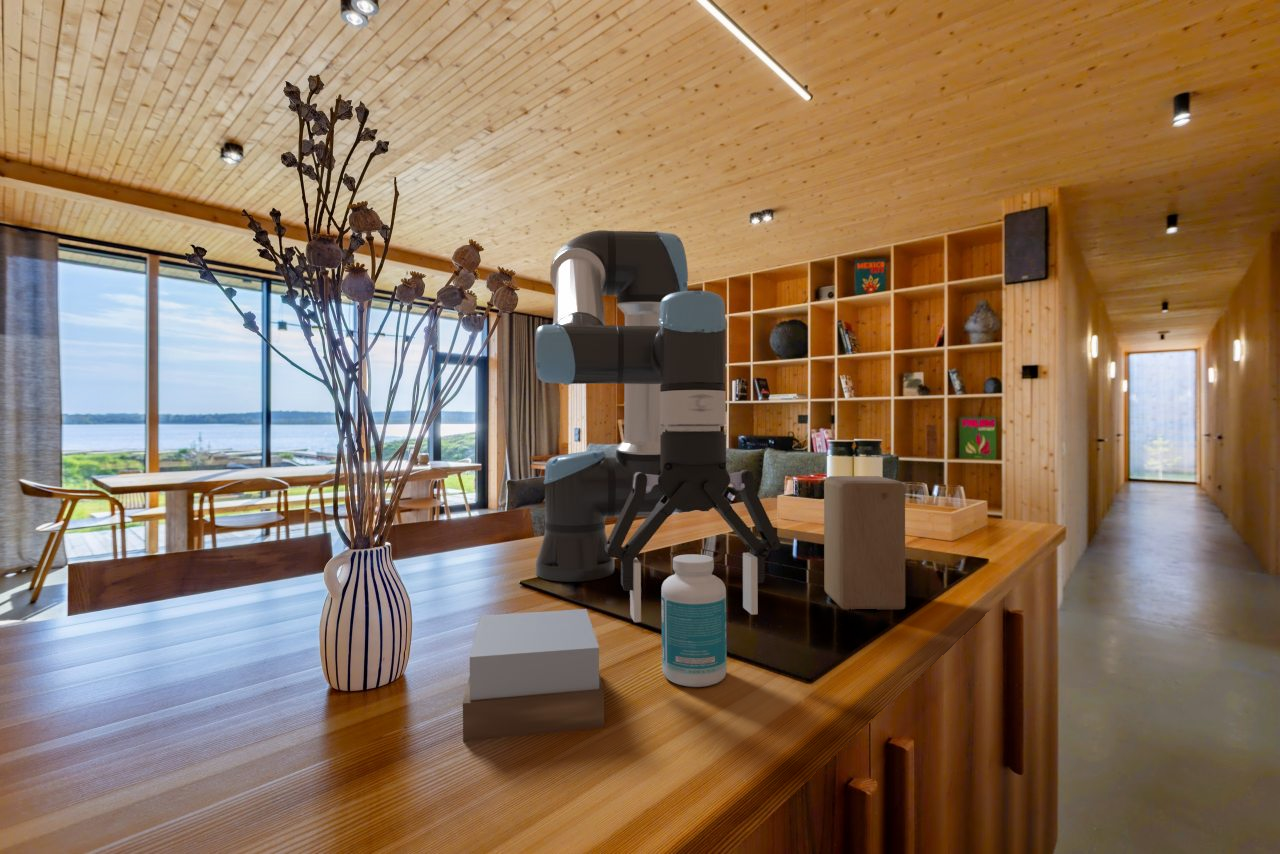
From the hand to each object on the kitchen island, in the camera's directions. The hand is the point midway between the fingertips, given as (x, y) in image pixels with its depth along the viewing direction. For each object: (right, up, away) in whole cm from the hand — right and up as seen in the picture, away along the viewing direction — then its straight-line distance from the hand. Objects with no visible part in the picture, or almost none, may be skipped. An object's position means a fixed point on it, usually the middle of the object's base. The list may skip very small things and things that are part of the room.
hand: (693, 614), depth 67 cm
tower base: (-17, -8, -6) cm, 20 cm away
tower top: (-17, -4, -6) cm, 19 cm away
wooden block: (+30, -7, +27) cm, 41 cm away
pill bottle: (0, -7, 0) cm, 7 cm away
